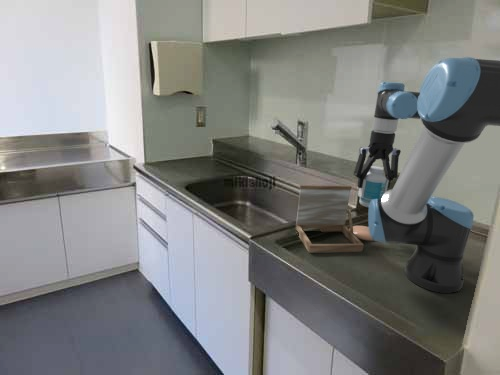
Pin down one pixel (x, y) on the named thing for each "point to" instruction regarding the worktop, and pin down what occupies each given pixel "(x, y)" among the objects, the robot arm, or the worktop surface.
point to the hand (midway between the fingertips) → (371, 196)
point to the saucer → (362, 233)
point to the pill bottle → (373, 185)
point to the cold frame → (326, 216)
